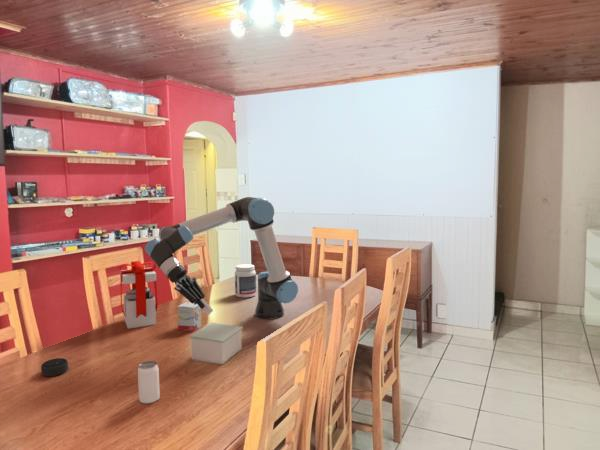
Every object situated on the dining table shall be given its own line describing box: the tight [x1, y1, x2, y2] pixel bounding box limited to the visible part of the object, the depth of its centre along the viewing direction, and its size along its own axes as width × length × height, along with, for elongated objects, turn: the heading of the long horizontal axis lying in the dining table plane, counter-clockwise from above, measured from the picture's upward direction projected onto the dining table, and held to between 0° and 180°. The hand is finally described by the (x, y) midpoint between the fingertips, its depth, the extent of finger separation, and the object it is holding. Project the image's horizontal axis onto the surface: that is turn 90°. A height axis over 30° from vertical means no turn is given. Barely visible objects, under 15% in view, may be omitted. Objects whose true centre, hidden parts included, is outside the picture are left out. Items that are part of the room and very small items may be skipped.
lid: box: [189, 322, 243, 343], centre depth 183 cm, size 15×17×1 cm
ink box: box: [177, 301, 202, 332], centre depth 215 cm, size 9×9×12 cm
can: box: [137, 360, 161, 405], centre depth 147 cm, size 6×6×12 cm
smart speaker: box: [40, 357, 69, 377], centre depth 168 cm, size 9×9×4 cm
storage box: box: [190, 330, 242, 365], centre depth 183 cm, size 14×16×9 cm
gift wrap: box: [118, 260, 158, 329], centre depth 222 cm, size 17×17×30 cm
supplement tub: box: [234, 263, 257, 299], centre depth 272 cm, size 13×13×18 cm
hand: (210, 312), depth 183 cm, fingers closed
